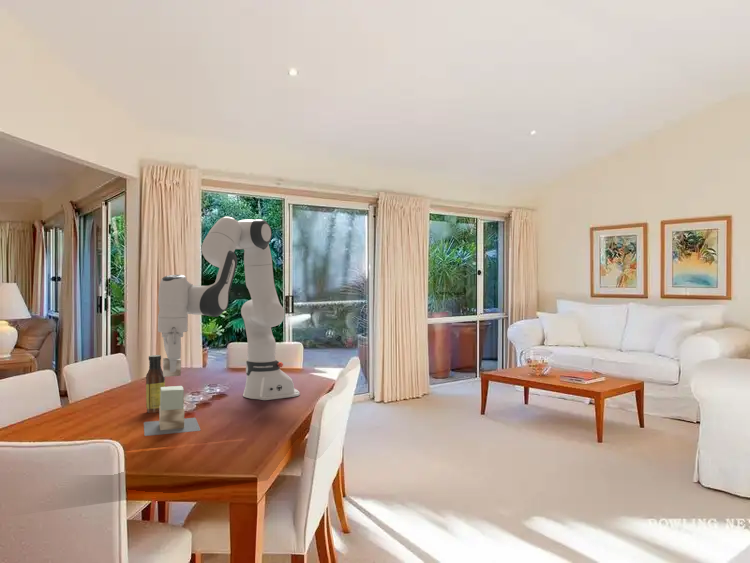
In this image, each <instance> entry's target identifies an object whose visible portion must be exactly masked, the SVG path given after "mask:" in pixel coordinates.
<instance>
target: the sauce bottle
mask: <svg viewBox="0 0 750 563" xmlns="http://www.w3.org/2000/svg"><path fill="white" fill-rule="evenodd" d="M148 361H149V362H148V363H149V367H148V368H149V369H148V371H147V372H146V375H145V397H146V398H145V402H146V404H145V405H146V413H148V414H152V413H159V406H160V396H161V387H166V378H165V377H164V376H163V368H162V366H161V365H162V364H161V361H162V355H159V354H151V355H149V356H148Z"/></svg>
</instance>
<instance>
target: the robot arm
mask: <svg viewBox="0 0 750 563" xmlns="http://www.w3.org/2000/svg"><path fill="white" fill-rule="evenodd" d="M272 236H273V234H272V228H271V225H270V224H269V223H268V222H267V221H266V220H264V219H260V218H256V219H241V220H236V219H235V218H233V217H231V216H223V217H221V218H219V219H218V220H217V221H216V222H215V223H214V225H212V227H211V228H210V229H209V231H208V233H207V234H206V236H205V238H204V239H203V242H202V244H201V254H202V256H203V258H204V259H205V260H206V262H208V263H209V264H211V265H212V266H214V267H216V268H219V269H218V272H217V275H216V279H215V280H214V281H215V282H214V283H212V284H209V285H195V284H193V283H191V282H189V281H188V279H187V276H186V275H184V274H170V275H166V276H164V277H162V278H161V279H160V282H159V287H158V298H157V299H158V300H157V302H158V308H159V312H158V314H157V332H158V333H161V337H162V338H163V347H164V352H165V355H166V358H168V359H169V361H170V372H175V371H176V363H177V359H181V355H182V339H181V338H183V337H184V333H187V332H188V331H189V330H188V324H189V323H188V318H189V316H188V315H195V316H196V315H197V316H199V315H200V316H208V317H215V318H216V317H219V316H221V315H222V314H224V312H225V311H226V310H227V308H228V306H229V300H230V299H229V298H230V292H231V288H232V285H233V280H234V278H235V275H236V270H237V266H238V258H237V255H236V254H235V250H244V252H243V265H244V277H245V285H246V288H247V289H248V292H249V295H250V298H251V299H249V300H247V301H245V302H244V303H243V304H242V305H241V309H240V314H241V317H242V319H243V322H244V328H245V333H246V338H247V360H246V364H245V373H246V374H245V375H246V379H245V384H244V385H245V386H244V390H243V394H242V396H243V397H244V398H247V399H251V400H261V401H270V400H280V399H285V398H293V397H294V398H295V397H299V396H300V391H299V390H298V389H297V388H295V386H294V382H293V378H292V377H290V376H289V375H288V374H287V373H286V372H284V371H283V370H281V368H283V367H284V363H283V362H282V361H278V360H276V348H277V347H276V344H277V343H276V339H275V337H274V335H273V331H272V328H273V327H276V326H279V325H281V323H283V321H284V320H285V314H286V313H285V309H284V307H283V306H282V304H281V303H280V299H279V296H278V293H277V288H276V285H275V279H274V268H273V259H272V253H271V247H270V245H269V244H270V242H271V240H272Z"/></svg>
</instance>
